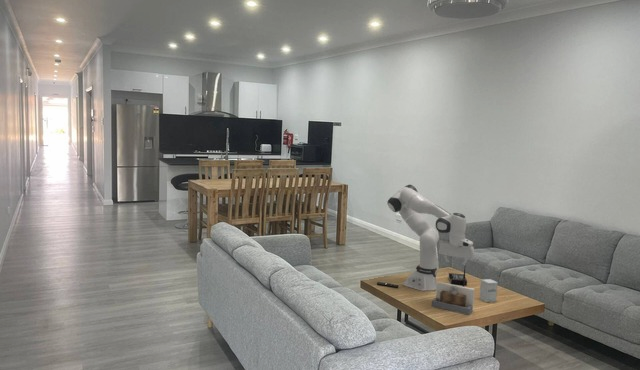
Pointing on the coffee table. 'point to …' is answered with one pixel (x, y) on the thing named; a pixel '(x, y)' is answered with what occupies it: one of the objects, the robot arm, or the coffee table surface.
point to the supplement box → (488, 290)
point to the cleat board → (460, 290)
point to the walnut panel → (453, 297)
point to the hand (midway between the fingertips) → (455, 264)
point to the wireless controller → (458, 279)
